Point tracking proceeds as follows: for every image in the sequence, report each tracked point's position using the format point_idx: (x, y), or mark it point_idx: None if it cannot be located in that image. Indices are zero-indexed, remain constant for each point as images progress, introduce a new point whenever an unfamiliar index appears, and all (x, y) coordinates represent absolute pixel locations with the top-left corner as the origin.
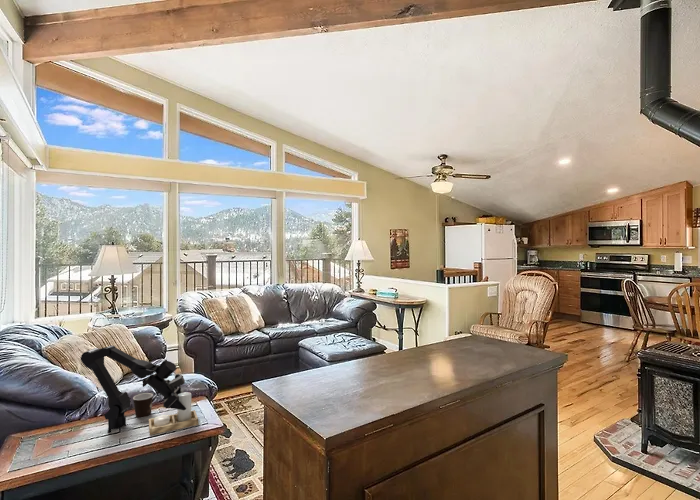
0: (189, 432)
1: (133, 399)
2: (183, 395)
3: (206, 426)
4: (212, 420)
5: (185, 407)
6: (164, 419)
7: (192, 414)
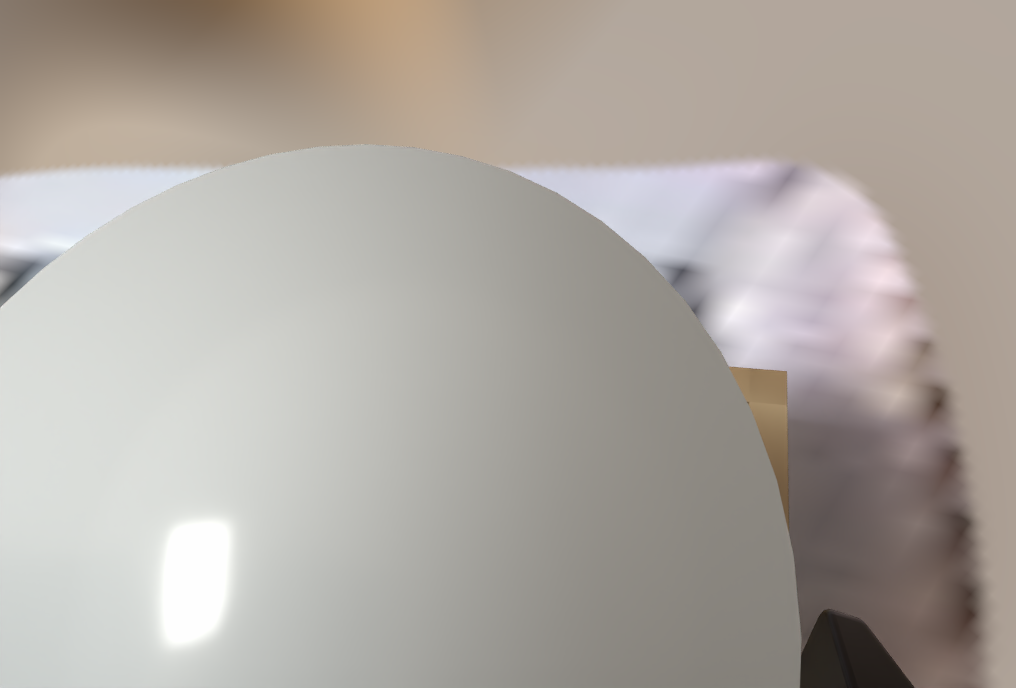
0: (898, 591)
1: None
2: (396, 675)
3: (794, 307)
4: (631, 201)
5: (872, 647)
6: None
7: None
